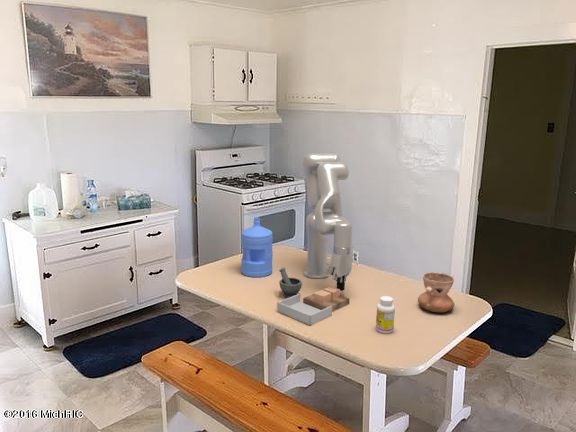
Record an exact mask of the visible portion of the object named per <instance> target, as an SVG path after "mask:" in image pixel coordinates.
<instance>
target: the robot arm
mask: <svg viewBox="0 0 576 432" xmlns="http://www.w3.org/2000/svg"><path fill="white" fill-rule="evenodd" d="M301 167H302V171H303V175H304V177H305V180H306V190H307V192H306V193H307V203H308V206H309V208H310V209H312V210H314V212H311V213H309V214H308V215H307V217H306V220H305V221H306V222H305V223H306V230H307V257H306V258H307V259H306V262H307V263H306V269H305V270H304V271H303V275H304V276H305V277H307V278H309V279H313V280H315V279H318V280H321V279H325V278H328V277H329V276H332V280H333V281H335V282H336V288H337V289H340V292H343V291H345V290H346V289H345V288H346V287H345V285H346V284H345V283H346V280H347V277H348V276H349V275H350V273H351V272H352V262H353V259H352V239H353V237H352V235H353V225H352V223H351V222H350V221H349V220H348V219H347V218H346V217H345V216H343V213H342V199H341V192H340V186H339V181H345V180H347V179H348V177H349V173H350V171H349V167H348V164H347V163H346V161H345V160H344V159H343V158H342V157H341V156H340V154H338V153H336V152H314V153H313V152H311V153H307V154H305V155H304V156H303V158H302V166H301ZM324 210H329V211H324ZM327 235H328V236H329V235H333V246H332V247H333V250H332V255H331V258H330V263H329V264H327V261H328V260H327V259H328V258H327V257H328V240H327V237H326V236H327Z"/></svg>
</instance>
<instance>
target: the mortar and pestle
mask: <svg viewBox="0 0 576 432" xmlns="http://www.w3.org/2000/svg"><path fill="white" fill-rule="evenodd" d="M279 272H280V275H281V279H280V280H279V282H278V283H279V288H280V290H281V292H282V295H283V298H284V299H287V298H290V297H292V296H295V295H297V294H299V292H300V291H301V289H302V285H303V282H302V280H301V279H300V278H296V277H289V276H288V274H287V271H286V268H285V267H282V268H280V269H279Z"/></svg>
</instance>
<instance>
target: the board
mask: <svg viewBox="0 0 576 432" xmlns="http://www.w3.org/2000/svg"><path fill="white" fill-rule="evenodd" d="M350 300H351V299H350V298H349V297H347V296H344V295H341V294H340V296H339V297H337V298H334V299H331V300H330V301H327V302H325V303H321V302H319V301H316V300H314V293H312V294H310V295H308V296H305V297H303V298H302V303H304V304H307V305H309V306H312V307H315V308H317V309H320V310H323V309H325V308H327V307H329V306H332V313H333V312H335V311H337V310H339V309H342V308H343V307H346V306H348V305H350Z"/></svg>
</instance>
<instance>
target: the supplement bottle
mask: <svg viewBox="0 0 576 432" xmlns="http://www.w3.org/2000/svg"><path fill="white" fill-rule="evenodd" d="M379 301H380V302H378V304H377V306H376V319H375V329H376V331H378V332H379V333H381V334H391V333H392V332H394V327H395V315H396V314H395V313H396V306H395V305H394V304H393V302H394V298H393V297H391V296H389V295H388V296H387V295H383V296H380V299H379Z"/></svg>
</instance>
